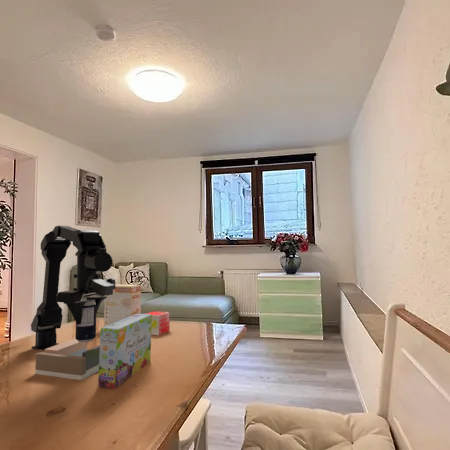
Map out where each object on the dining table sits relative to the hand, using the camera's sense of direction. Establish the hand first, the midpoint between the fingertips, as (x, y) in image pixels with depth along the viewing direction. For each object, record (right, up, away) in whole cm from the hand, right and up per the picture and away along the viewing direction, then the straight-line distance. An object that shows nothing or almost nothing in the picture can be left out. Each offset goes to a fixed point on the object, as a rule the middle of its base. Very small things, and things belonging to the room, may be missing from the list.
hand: (85, 322), depth 103 cm
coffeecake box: (-3, -17, +46) cm, 49 cm away
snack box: (+15, -13, -7) cm, 21 cm away
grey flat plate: (+5, -12, -3) cm, 13 cm away
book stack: (-6, -12, +1) cm, 14 cm away
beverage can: (0, -6, 0) cm, 6 cm away
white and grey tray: (-1, -13, -1) cm, 13 cm away
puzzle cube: (+13, -16, +41) cm, 46 cm away
